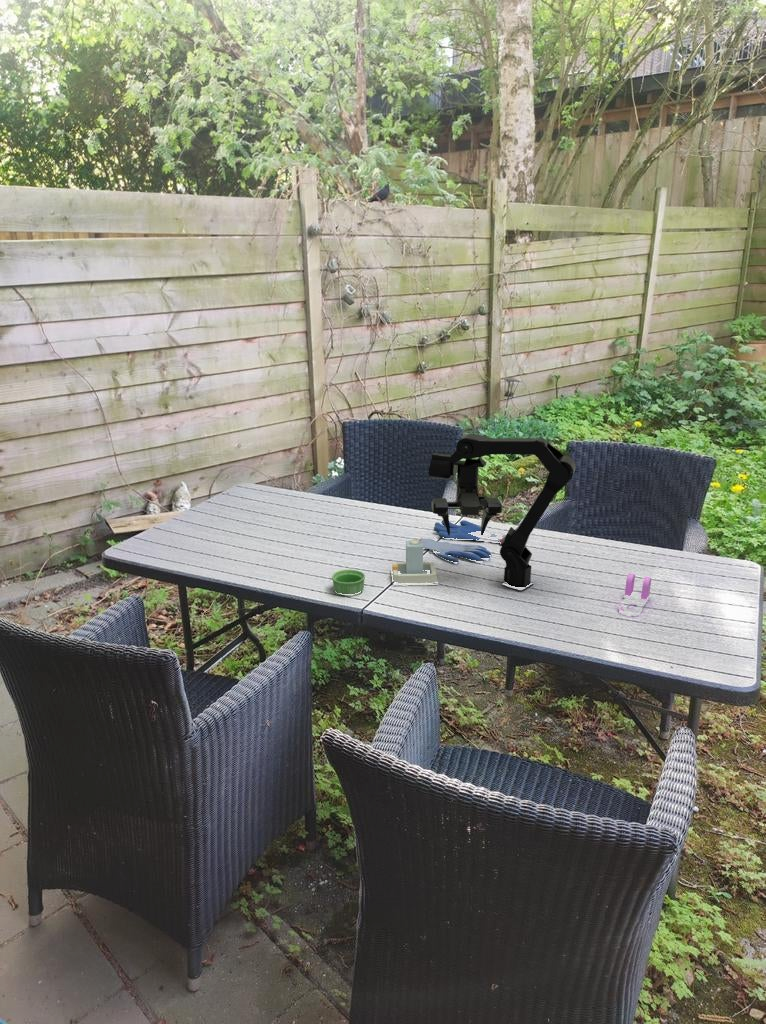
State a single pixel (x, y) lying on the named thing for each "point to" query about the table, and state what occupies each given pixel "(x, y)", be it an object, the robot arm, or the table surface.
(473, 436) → the robot arm
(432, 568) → the pocket tray
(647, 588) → the bracket
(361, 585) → the ramekin
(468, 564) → the table surface
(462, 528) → the pair of gloves
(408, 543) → the block
